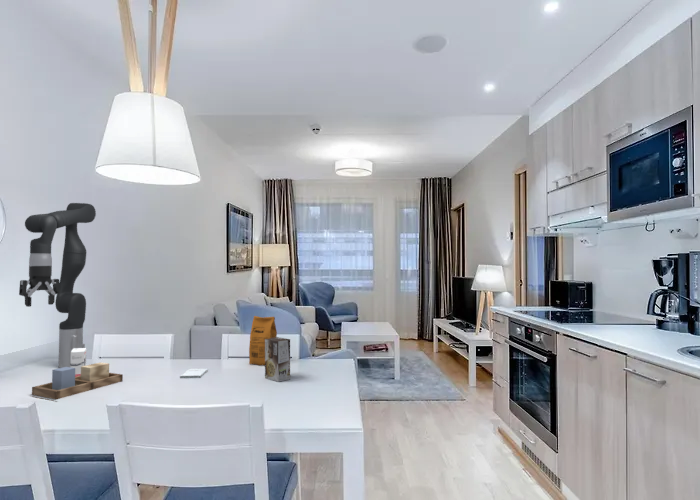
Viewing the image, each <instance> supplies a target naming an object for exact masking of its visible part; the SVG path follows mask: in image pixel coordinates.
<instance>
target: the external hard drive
mask: <svg viewBox="0 0 700 500" xmlns="http://www.w3.org/2000/svg"><path fill="white" fill-rule="evenodd" d="M208 371H209V369H208V368H189V369H187V370H185V372H183V373H182V374H180V376H179V379H201V378H202V377H203V376H204V375H205V374H206V373H207V372H208Z"/></svg>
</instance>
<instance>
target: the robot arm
mask: <svg viewBox="0 0 700 500" xmlns="http://www.w3.org/2000/svg"><path fill="white" fill-rule="evenodd" d="M96 216H97V213H96V209H95V207H94V205H93V204H91V203H85V202H71V203H69V204H67V207H66V209H65V210H56V211H52V212H51V211H50V212H48V213H40V214H31V215H30V216H28V217H27V218H26V219H25V221H24V226H25V229H26V230H27V231H28V232H30V233H33V234H34V233H35V234H41V235H40V237H37V238H33V239H31V240H30V242H29V259H28V277H29V278H28V280H26V279H21V280H20V281H19V291H18V292H19V293H18V295H19V296H22V297H24V305H25V307H30V308H31V307H32V295H33V294H34V293H36V291H44V292H46V293H47V295H48V296H47V298H48V299H47V304H48V305H50V306H51V305H54V303H55V309H56V310H57V312H58V313H61V314H67V318H66V319H65V320H63V321H61V322H60V323H59V324H58V329H59V330H58V334H59V335H58V367H57V368H58V369H59V368H63V367H70V356H71V351H72V349H73V348H86V344H85V343H83V342H84V341H83V340H84V335H83V334H84V323H85V321H86V313H87V312H86V311H87V301H86V296H85V295H84V294H82V293H80V292H74V287H75V283H76V280H77V279H78V277H79V276H80V274H81V273H82V272H83V270H84V268H85V266H86V261H87V249H86V246H85V244H84V242H83V241H82V239H81V237H80V235H79V232H78V224H79V223H81V224H87V223H92V222H94V220H95V218H96ZM64 227H65V232H64V233H65V234H64V235H65V237H64V246H63V253H62V260H61V261H62V263H61V269H60V270H61V271H60V278H53V279H52V276H53V275H52V274H53V272H52V271H53V270H52V269H53V267H52V265H53V258H52V243H53V240H54V236H55V233H56V232H57V229H60V228H64ZM51 284H52V285H51ZM28 285H29V287H28ZM55 296H56V297H55Z"/></svg>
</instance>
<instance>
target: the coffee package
mask: <svg viewBox="0 0 700 500" xmlns="http://www.w3.org/2000/svg"><path fill="white" fill-rule="evenodd" d="M252 318H253V320H252V323H251V330H250V334H249V335H250V336H249V347H248V355H249V356H248V357H249V361H248V362H249V363H248V365H258V366H265V339H269V338H274V337H278V336H277V335H278V332H277V326H276V321H275V320H276V317H275V316H264V317H261V316H257V315H254V316H253V317H252Z"/></svg>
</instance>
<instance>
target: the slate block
mask: <svg viewBox="0 0 700 500" xmlns="http://www.w3.org/2000/svg"><path fill="white" fill-rule="evenodd" d="M51 372H52V373H51V375H52V377H51V379H52V380H51V382H52V389H54V390H61V389H65V388H69V387H73V386H75V368H71V367H63V368H59V367H58V368H55V369H52V371H51Z"/></svg>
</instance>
